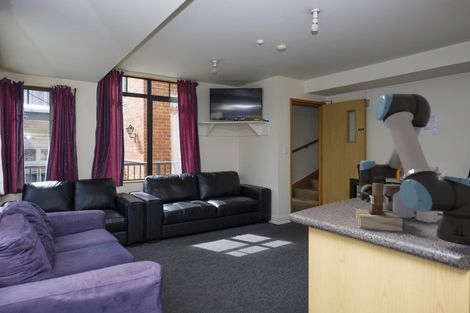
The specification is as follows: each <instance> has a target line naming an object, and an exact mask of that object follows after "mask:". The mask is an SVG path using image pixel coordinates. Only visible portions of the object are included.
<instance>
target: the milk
mask: <svg viewBox="0 0 470 313" xmlns="http://www.w3.org/2000/svg"><path fill="white" fill-rule="evenodd" d="M415 217H416V221H420V222H424V223H437V222H438V211H427V212H421V211H416V216H415Z"/></svg>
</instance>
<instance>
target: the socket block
mask: <svg viewBox="0 0 470 313" xmlns="http://www.w3.org/2000/svg"><path fill="white" fill-rule="evenodd" d="M403 219H404V218H401V217H399V216H398V215H397V214H396V213H394V212H393V211H390V210H383V216H380V215H372V209H355V221H356V223H357V225H358V226H359V228H360V229H362V230H375V231H376V230H379V231H392V232H393V231H395V232H403V224H404V223H403Z"/></svg>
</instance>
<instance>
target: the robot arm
mask: <svg viewBox="0 0 470 313" xmlns="http://www.w3.org/2000/svg"><path fill="white" fill-rule="evenodd" d="M431 114H432V111H431V105H430V102H429V101H428V100H427V99H426V98H425V97H424V96H423V95H421V94H418V93H383V94H381V95H380V96H379V97H378V98H377V100H376V102H375V107H374V117H375V119H376V120H377V121H382V122H383V125H384V127H385V128H386V129H389V131H390V134H391V137H392V140H393V143H394V146H393V148H392V150H391V153H390V155H389V156H388V159H387V161H386V163H385V164H384V163H382V164H381V163H376V161H375V160H361V161H360V163H359V180H358V182H359V185H358V192H357V198H359V199H361V201H365V203H370V204H371V205H372V204H374V197H373V196H372V183H376V180H377V179H390V180H392V179H393V180H395V179H396V172H397V170H398V169H401V168H403V170H402V171H400V179H402V180H403V182H402V183H401V182H400V184H399V185H400V190H401V191H400V196H401V199H402V201H403V203H404V204H405V206H406V207H407V208H409V209H411V210H413V211H414V212H417V211H421V212H427V211H437V212H442V216H441V219H440V221H439V224H438V227H437V228H436V237H437V238H439V239H442V240H444V241H447V242H450V243H455V244H463V245H470V178H465V177H456V176H448V175H446V176H444V177H443V180H442V179H440V178H439V179H438V176H437V174H436V172H435V171H433V170H430V169H431V168H430V169H429V167H430V166H429V164H428V161H427V158H426V156H425V153H424V151H423V149H422V146H421V143H420V140H419V138H418V137H419V135H420V133H422V132H421V131H422V129H424V128H426V127H427V125H428V123H429V121H430V119H431ZM383 202H384V203H385V204H386V205H388V202H391V196H390V195H389V194H388V193H384V194H383Z"/></svg>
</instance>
